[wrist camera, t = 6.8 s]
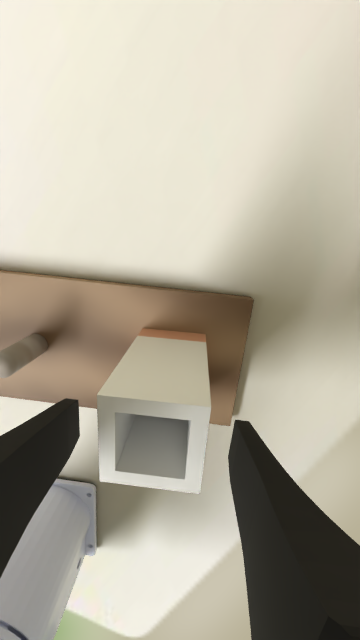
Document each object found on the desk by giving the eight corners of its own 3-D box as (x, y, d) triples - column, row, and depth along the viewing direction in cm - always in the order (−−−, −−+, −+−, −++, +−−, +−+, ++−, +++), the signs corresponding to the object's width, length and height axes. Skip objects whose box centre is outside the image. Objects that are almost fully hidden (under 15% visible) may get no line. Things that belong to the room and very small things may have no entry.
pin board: (228, 417, 20) (236, 464, 15) (-8, 386, 21) (-62, 423, 16) (250, 296, 17) (268, 314, 13) (-26, 267, 18) (-98, 274, 13)
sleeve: (205, 334, 17) (211, 407, 9) (199, 389, 18) (199, 493, 10) (142, 328, 17) (96, 394, 9) (140, 383, 18) (99, 481, 11)
